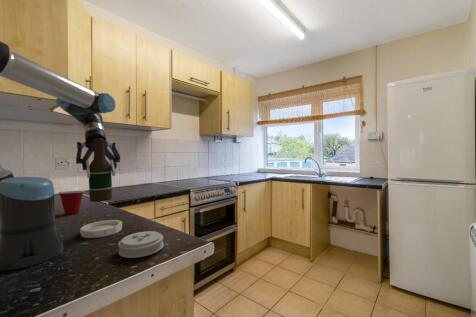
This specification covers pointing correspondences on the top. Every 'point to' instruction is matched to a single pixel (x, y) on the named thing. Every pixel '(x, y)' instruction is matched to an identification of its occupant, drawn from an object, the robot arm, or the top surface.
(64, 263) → the top surface
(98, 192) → the beer bottle
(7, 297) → the top surface
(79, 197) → the plastic cup
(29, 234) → the robot arm
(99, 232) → the dish
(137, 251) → the lid
